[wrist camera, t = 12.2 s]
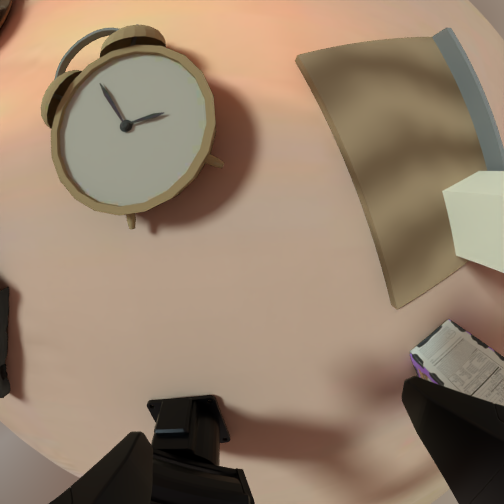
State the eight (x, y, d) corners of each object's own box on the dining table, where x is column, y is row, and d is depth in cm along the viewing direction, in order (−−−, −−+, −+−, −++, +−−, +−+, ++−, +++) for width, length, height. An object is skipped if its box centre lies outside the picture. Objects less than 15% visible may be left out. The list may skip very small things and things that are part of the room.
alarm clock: (105, 253, 16) (7, 86, 11) (124, 231, 21) (39, 93, 15) (254, 150, 16) (136, -18, 10) (243, 150, 20) (147, 10, 15)
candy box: (462, 386, 25) (532, 456, 9) (428, 414, 26) (491, 495, 10) (448, 315, 23) (563, 397, 6) (406, 352, 23) (510, 462, 7)
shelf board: (492, 235, 21) (499, 236, 20) (391, 305, 21) (397, 309, 20) (426, 40, 17) (431, 36, 16) (294, 60, 17) (297, 55, 16)
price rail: (496, 231, 21) (519, 237, 18) (492, 235, 21) (515, 241, 18) (431, 40, 17) (451, 28, 13) (426, 40, 17) (446, 27, 13)
